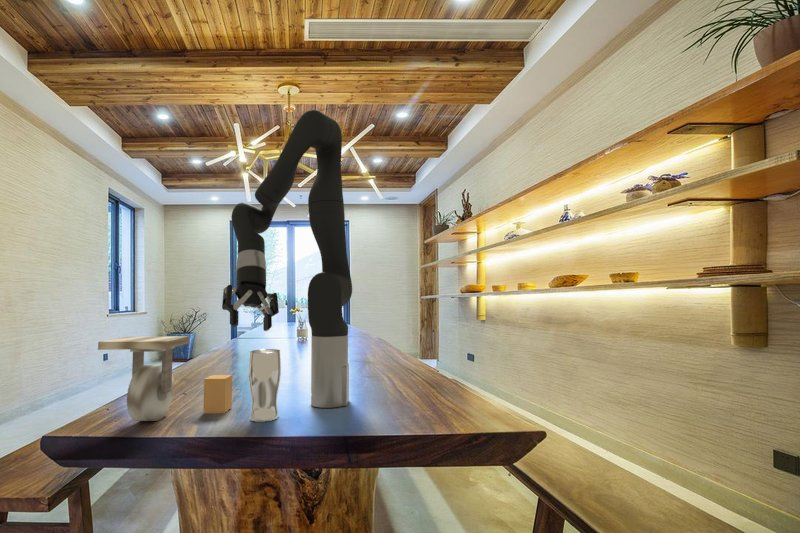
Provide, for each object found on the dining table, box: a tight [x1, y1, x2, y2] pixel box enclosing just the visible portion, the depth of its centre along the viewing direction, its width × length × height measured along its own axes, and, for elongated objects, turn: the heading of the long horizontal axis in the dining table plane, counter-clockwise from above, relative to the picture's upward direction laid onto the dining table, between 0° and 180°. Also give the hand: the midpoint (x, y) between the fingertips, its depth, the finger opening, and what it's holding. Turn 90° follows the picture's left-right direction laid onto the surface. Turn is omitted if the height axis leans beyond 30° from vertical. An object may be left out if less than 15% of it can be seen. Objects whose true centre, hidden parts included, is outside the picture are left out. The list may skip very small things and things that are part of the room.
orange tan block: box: [202, 374, 233, 414], centre depth 105 cm, size 5×4×8 cm
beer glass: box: [248, 348, 282, 423], centre depth 98 cm, size 7×7×15 cm
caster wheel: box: [97, 335, 190, 422], centre depth 97 cm, size 14×14×18 cm
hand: (251, 328), depth 110 cm, fingers open, 8 cm apart
